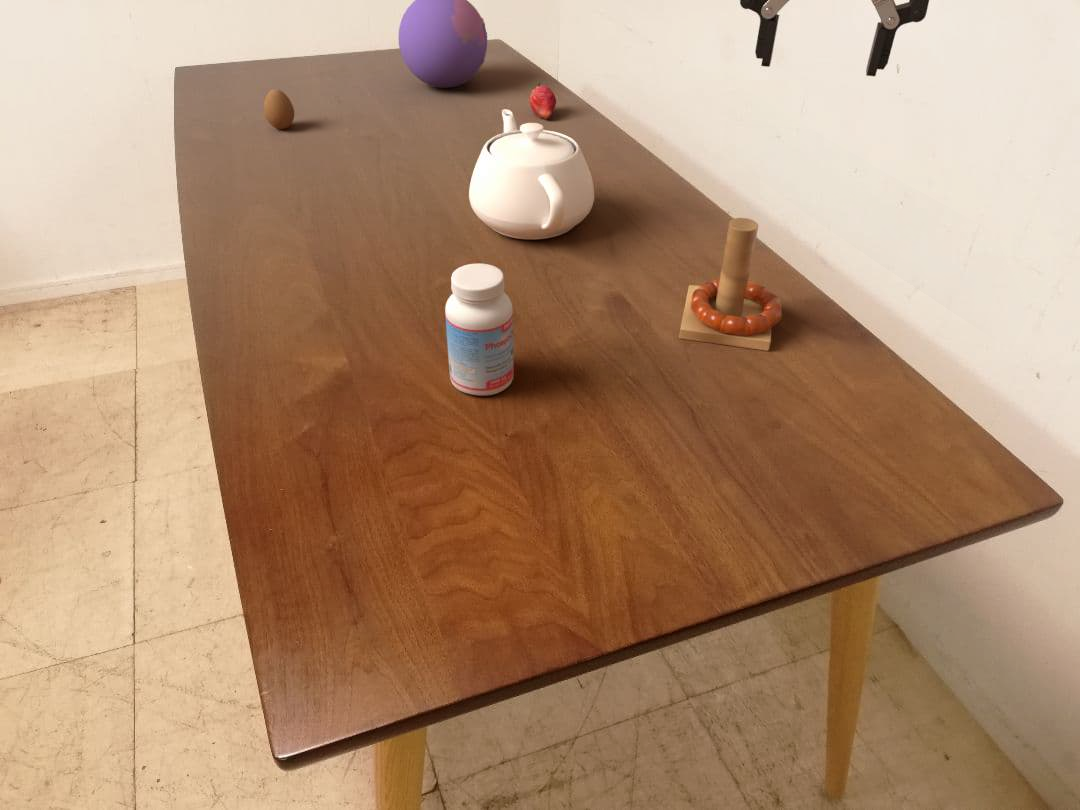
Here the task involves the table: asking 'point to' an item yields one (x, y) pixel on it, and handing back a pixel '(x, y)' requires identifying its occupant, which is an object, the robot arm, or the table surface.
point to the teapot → (531, 182)
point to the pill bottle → (479, 331)
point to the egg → (278, 109)
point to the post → (730, 292)
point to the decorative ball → (443, 41)
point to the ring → (736, 323)
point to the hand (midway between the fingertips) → (817, 68)
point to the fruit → (542, 101)
